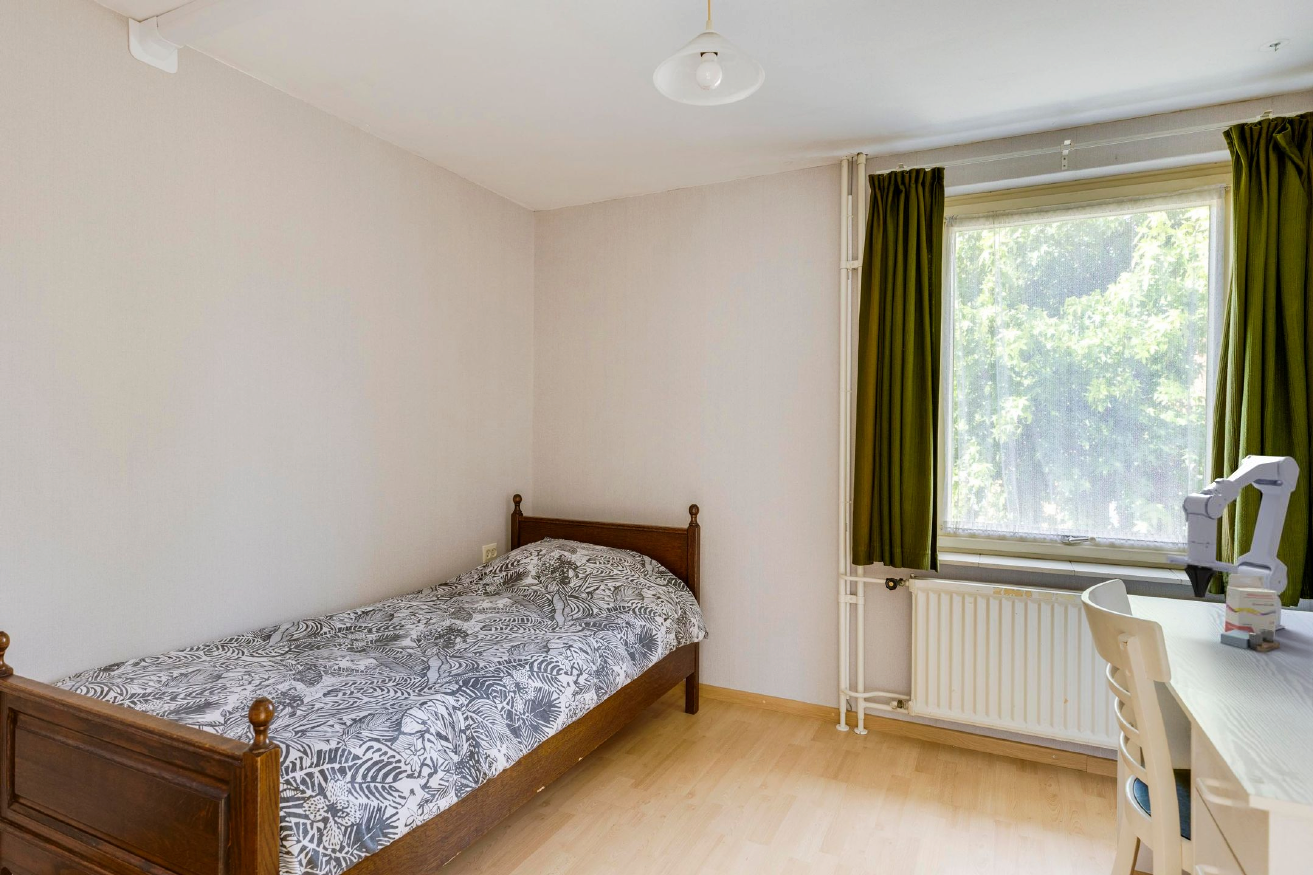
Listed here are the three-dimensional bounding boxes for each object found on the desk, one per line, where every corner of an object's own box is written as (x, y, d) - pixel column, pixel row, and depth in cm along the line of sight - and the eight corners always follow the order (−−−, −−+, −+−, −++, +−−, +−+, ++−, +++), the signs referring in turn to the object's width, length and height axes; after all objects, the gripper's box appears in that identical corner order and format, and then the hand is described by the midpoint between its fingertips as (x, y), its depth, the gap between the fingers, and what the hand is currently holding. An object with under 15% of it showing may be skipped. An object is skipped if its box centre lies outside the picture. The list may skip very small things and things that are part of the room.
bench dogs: (1262, 643, 168) (1263, 628, 168) (1279, 647, 165) (1280, 632, 165) (1246, 648, 164) (1247, 633, 164) (1263, 652, 161) (1264, 636, 161)
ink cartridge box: (1238, 637, 172) (1240, 577, 172) (1224, 632, 177) (1226, 573, 177) (1276, 639, 171) (1278, 579, 171) (1261, 633, 176) (1263, 574, 176)
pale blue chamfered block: (1235, 639, 172) (1236, 629, 172) (1261, 645, 168) (1261, 634, 168) (1220, 643, 168) (1220, 633, 168) (1246, 650, 164) (1246, 639, 164)
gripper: (1160, 538, 180) (1158, 592, 180) (1229, 548, 167) (1227, 605, 168) (1174, 537, 183) (1172, 589, 184) (1242, 546, 171) (1240, 602, 171)
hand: (1199, 596), depth 176 cm, fingers closed
